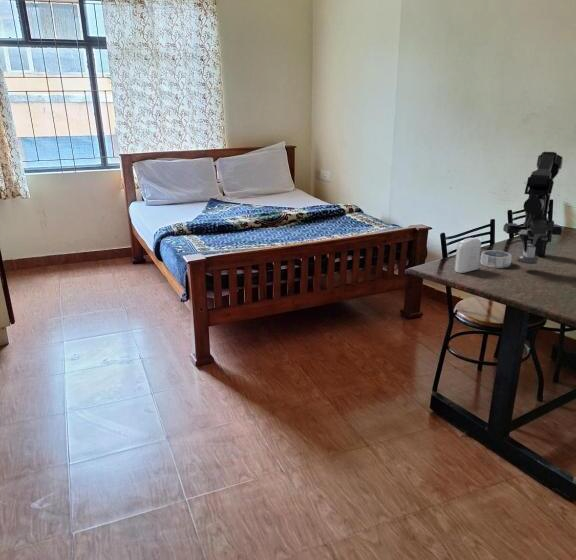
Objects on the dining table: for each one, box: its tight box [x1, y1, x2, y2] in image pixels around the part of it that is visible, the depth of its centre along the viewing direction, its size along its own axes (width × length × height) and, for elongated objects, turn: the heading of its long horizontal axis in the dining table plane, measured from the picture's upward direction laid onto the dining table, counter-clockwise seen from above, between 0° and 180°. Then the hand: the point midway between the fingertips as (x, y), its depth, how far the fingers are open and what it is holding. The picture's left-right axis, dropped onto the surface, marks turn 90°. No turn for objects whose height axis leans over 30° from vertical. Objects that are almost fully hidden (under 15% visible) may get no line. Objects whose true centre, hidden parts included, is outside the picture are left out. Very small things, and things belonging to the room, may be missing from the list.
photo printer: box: [454, 237, 482, 274], centre depth 185 cm, size 10×4×12 cm, turn 123°
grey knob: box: [516, 244, 540, 265], centre depth 185 cm, size 7×7×6 cm
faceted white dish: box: [479, 249, 513, 269], centre depth 195 cm, size 11×11×4 cm
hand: (528, 251), depth 184 cm, fingers closed on grey knob, 2 cm apart
